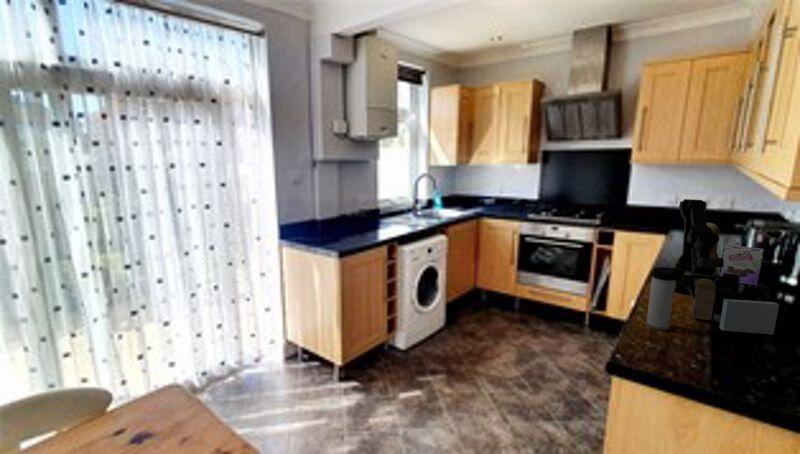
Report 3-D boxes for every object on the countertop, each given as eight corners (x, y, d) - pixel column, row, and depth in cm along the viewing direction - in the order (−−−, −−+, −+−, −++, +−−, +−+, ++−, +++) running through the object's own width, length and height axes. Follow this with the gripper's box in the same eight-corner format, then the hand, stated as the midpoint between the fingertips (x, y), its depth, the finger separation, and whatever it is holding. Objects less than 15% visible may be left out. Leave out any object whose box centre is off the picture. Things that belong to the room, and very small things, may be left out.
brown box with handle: (689, 312, 136) (695, 276, 134) (707, 315, 134) (713, 278, 131) (692, 317, 132) (698, 280, 129) (711, 320, 129) (716, 282, 127)
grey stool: (705, 318, 134) (709, 290, 132) (751, 321, 131) (756, 293, 130) (723, 330, 124) (727, 301, 123) (773, 334, 122) (779, 304, 120)
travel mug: (673, 331, 123) (682, 271, 120) (651, 329, 125) (658, 270, 121) (664, 323, 129) (672, 266, 126) (643, 321, 131) (650, 264, 127)
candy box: (717, 280, 178) (722, 245, 175) (718, 277, 183) (723, 243, 180) (757, 287, 169) (764, 250, 166) (758, 284, 173) (764, 248, 171)
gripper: (674, 245, 136) (675, 283, 129) (742, 251, 128) (747, 293, 120) (668, 261, 144) (668, 298, 137) (732, 268, 136) (736, 308, 128)
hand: (703, 299), depth 130 cm, fingers closed on brown box with handle, 5 cm apart
